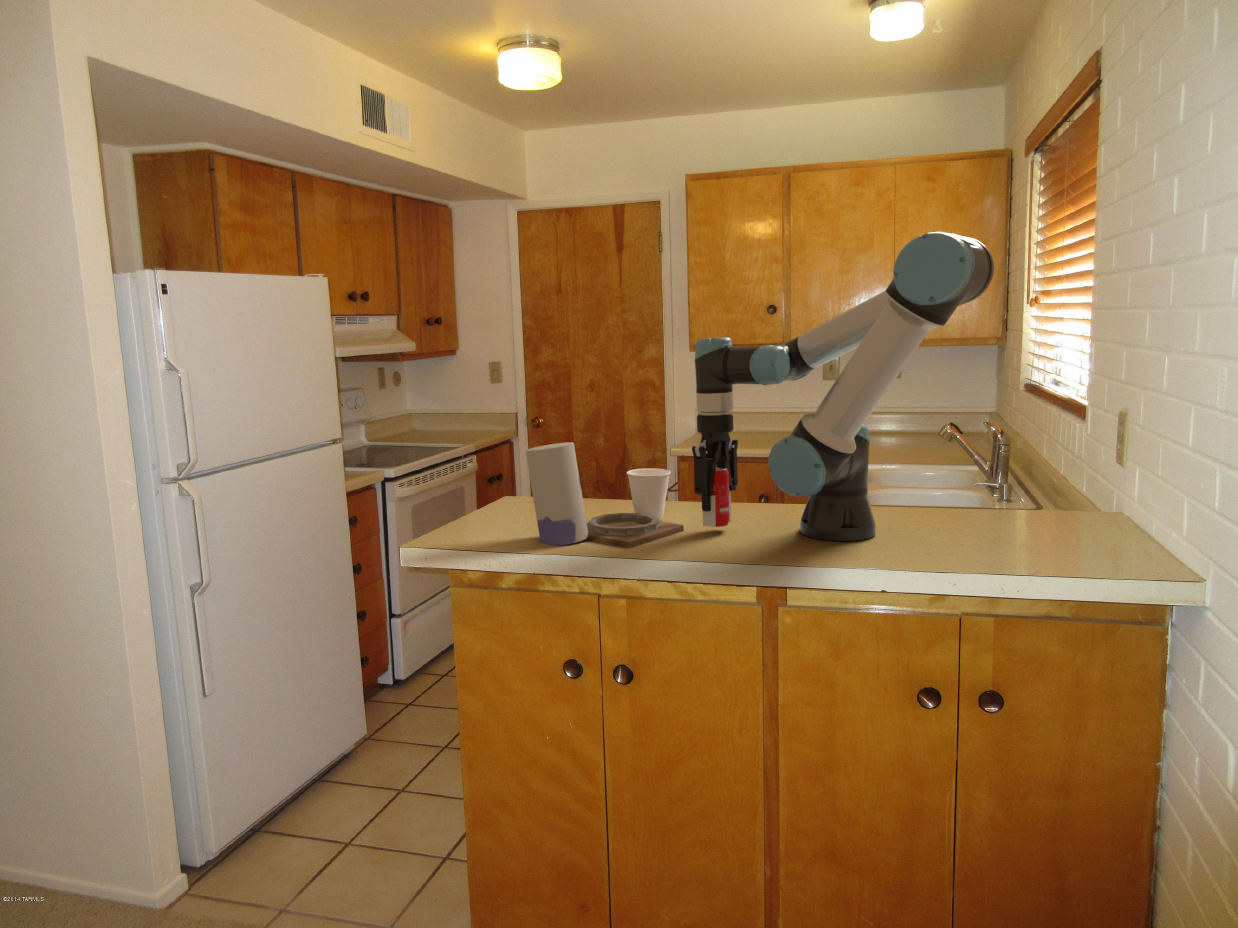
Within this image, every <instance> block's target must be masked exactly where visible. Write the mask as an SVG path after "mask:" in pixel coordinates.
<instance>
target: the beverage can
mask: <svg viewBox="0 0 1238 928" xmlns="http://www.w3.org/2000/svg"><path fill="white" fill-rule="evenodd" d="M707 490H708V489H707ZM712 495H715V513H716V527H715V528H722V527H726V526H728V525H729V523H730V522H729V520H730V508H729V472H728V470H727V468H726V467H725V468H724V467H717V466H716V469H715V477H714V485H713V493H712Z"/></svg>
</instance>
